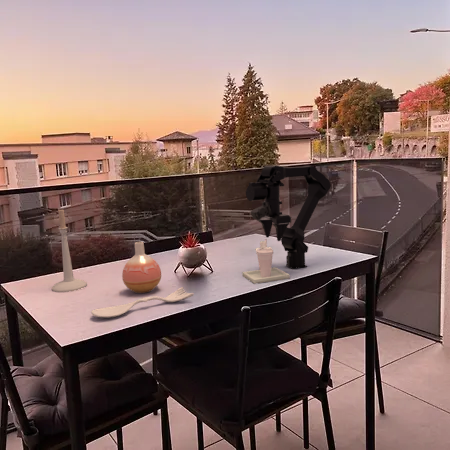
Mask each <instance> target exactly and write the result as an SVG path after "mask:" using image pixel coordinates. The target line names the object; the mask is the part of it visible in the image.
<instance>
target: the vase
mask: <svg viewBox="0 0 450 450" xmlns="http://www.w3.org/2000/svg"><path fill="white" fill-rule="evenodd" d="M121 277H122V282H123V284H124V285H125V287H126V288H128V289H129V290H130V291H132V292H133V293H135V294H146V293H150V292H152V291H154V289H155V288H156V287H157V286H158V285H159V284H160V282H161V279H162V271H161V267H160V265H159V264H158V262H157V260H155V259H154V258H152V256H149V255H148V254H146V253H145V245H144V242H143V241H135V242H134V255H133V256H132V257H131V258H129V259H128V260H127V262H126V263H125V265H124V266H123V269H122V275H121Z"/></svg>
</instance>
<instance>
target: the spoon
mask: <svg viewBox="0 0 450 450" xmlns="http://www.w3.org/2000/svg"><path fill="white" fill-rule="evenodd" d="M194 295H195V293H194V292H191V293H190V292H186V290H185V289H184V287H179V288H177V289H176V290H175V291H173V292H172V293H171V294H168V295H167V296H166V297H161V296H156V295H154V296H153V295H151V296H148V297H142V298H140V299H136V300H134V301H132V302H129V303H125V304H118V305H113V306H109V307H101V308H97V309H93V310H91V312H90V313H91V315H92V316H93V317H97V318H107V319H110V318H115V317H119V316H122V315H123V314H125V313H127V312H128V311H129V310H131V309H132V308H133V307H134V306H135V305H137V304H140V303H147V302H149V301H155V300H157V301H161V302H166V303H175V302H180V301H181V300H183V301H184V300H185V299H188V298H191V297H193V296H194Z"/></svg>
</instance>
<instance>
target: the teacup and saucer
mask: <svg viewBox="0 0 450 450" xmlns="http://www.w3.org/2000/svg"><path fill="white" fill-rule="evenodd" d="M259 246H260V247H257V248H255V251H257V250H260V249H265V240H263V241H260V242H259ZM267 249H271V250H273V248H272V247H270V246H269V247H268V246H267Z"/></svg>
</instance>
